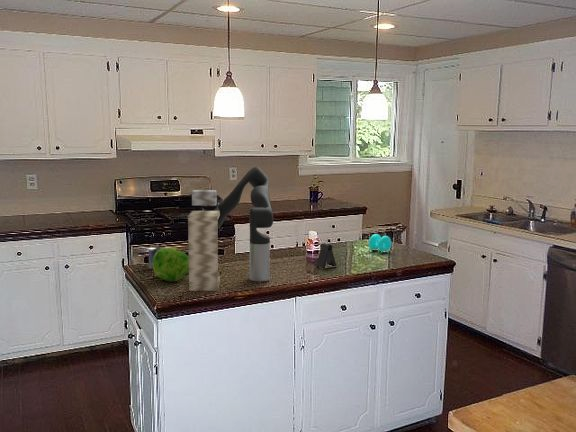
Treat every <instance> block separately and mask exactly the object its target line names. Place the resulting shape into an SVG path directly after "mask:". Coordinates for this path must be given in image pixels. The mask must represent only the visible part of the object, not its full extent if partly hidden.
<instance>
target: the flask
mask: <svg viewBox="0 0 576 432" xmlns="http://www.w3.org/2000/svg"><path fill="white" fill-rule="evenodd" d="M163 248H167V247H165V246H159V244H155V248H152V249H148V269H149V270H153V264H152V262H153V256H154V255H155V253H156V252H157V251H158V250H160V249H163Z"/></svg>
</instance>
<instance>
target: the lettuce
mask: <svg viewBox="0 0 576 432" xmlns="http://www.w3.org/2000/svg"><path fill="white" fill-rule="evenodd" d="M152 264H153V269H152V270H153V272H154V274H155V276H156V277H158V278H159V279H161V280H163V281H166V282H178V281H179V280H180V279H182V278H183V277H184V276H186V275H187V274H189V255H188V254H186V253H185V252H184V251H182V250H180V249H178V248H176V247H166V248H163V249H160V250H158V251H157V252H156V253H155V255H154V256H153V262H152Z"/></svg>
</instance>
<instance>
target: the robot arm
mask: <svg viewBox="0 0 576 432" xmlns="http://www.w3.org/2000/svg"><path fill="white" fill-rule="evenodd" d="M269 181H270V180H269V177H268V175H267V174H265V172H264V171H263V170H262V169H261V168H260V167H259V166H254V167H252V168H250V169H249V171H247V172H246V173H245V175H244V176H243V177H242V179H240V181H239V182H238V183H237V184H236V186H235V187H234V188H233V190H232V191H231V192H230V193H228V195H227V196H226V197H225V198H224V199H223V198H222V197H221V196H220V195H218V194H216V198H217V204H216V206H209V205H201V209H202V210H201V211H220V216H219V218H218V229H220V227H221V226H222V225H223V223H224V221H225V220H226V218H227V217H228V216H229V214H230V213H231V212H233V210H234V209H236V208H237V206H238V204H239V203H240V202H241V197H242V194H243V192H244V189H245V187H246V186H247V184H248V183H249V185H251V187H252V190H251V191H250V203H251V205H252V206H253V207H252V208H250V209H249V212H248V213H249V214H248V215H249V217H248V218H249V220H248V221H249V280H250V281H252V282H267V281H270V280H271V279H270V278H271V277H270V275H271V274H270V273H271V260H270V259H271V257H270V256H271V246H270V245H271V238H270V236H269V235H267V234H264V233H262V232H260V231H259V230H257V229H268V228H271V227H272V226H273V224H274V212H273V209H272V206H271V197H270V191H269Z"/></svg>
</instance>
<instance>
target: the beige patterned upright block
mask: <svg viewBox="0 0 576 432" xmlns="http://www.w3.org/2000/svg"><path fill="white" fill-rule="evenodd" d="M220 214H221V212H220V211H219V210H218V211H203V210H192V211H191V212H190V213H189V214H188V215H187V223H188V225H187V227H188V229H187V231H188V232H187V233H188V234H187V236H188V240H187V241H188V242H187V243H188V257H189V272H188V291H189V292H191V291H192V292H194V291H197V292H201V291H205V292H206V291H208V292H209V291H211V292H213V291H216V292H217V291H218V290H219V286H220V282H221V276H220V275H219V268H218V266H219V254H218V252H219V249H218V248H219V247H218V246H219V245H218V244H219V243H218V242H219V241H218V240H219V239H218V235H219V234H218V233H219V232H218V229H219V228H218V218H219V216H220Z"/></svg>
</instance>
